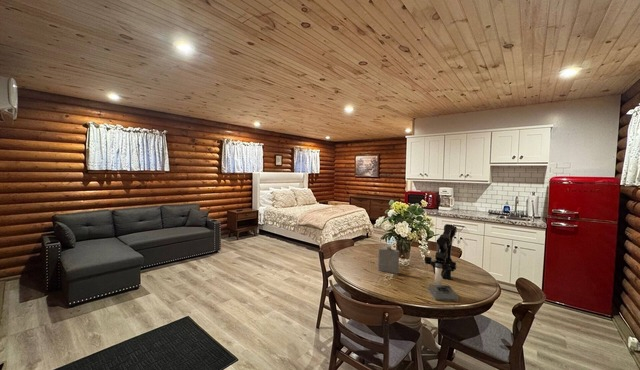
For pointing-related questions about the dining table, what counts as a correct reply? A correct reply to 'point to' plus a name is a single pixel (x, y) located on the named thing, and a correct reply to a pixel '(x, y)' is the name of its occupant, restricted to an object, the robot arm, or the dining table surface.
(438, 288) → the gray rectangular frame
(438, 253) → the robot arm
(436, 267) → the plug
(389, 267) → the hip flask
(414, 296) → the dining table surface
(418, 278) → the dining table surface
